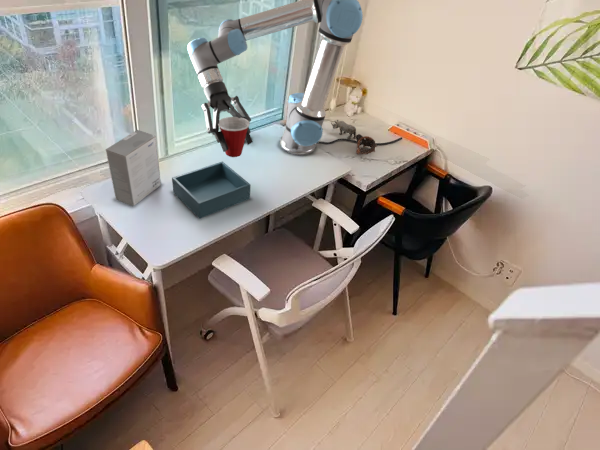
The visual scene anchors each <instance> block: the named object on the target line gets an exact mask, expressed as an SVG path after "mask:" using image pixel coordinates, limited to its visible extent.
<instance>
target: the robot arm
mask: <svg viewBox="0 0 600 450" xmlns="http://www.w3.org/2000/svg"><path fill="white" fill-rule="evenodd" d="M363 17H364V16H363V9H362V6H361V4H360V2H359V0H298V1H294V2H291V3H290V2H289V3H287V4H283V5H280V6H278V7H274V8H271V9H267V10H264V11H260V12H257V13H254V14H251V15H248V16H244V17H241V18H237V19H230V18H227V19H224V20H223V21H222V22H221V23H220V25H219V27H218V31H217V33H218V34H217V37H216V38H214V39H212V40H209V41H208V40H207V39H206V38H205V37H198V38H194V39H193V40H191V41H190V42H188V44H187V47H186V49H187V53H188V56H189V58H190V61H191V63H192V65H193V68H194V70H195V72H196V75H197V78H198V80H199V82H200V85H201V88H202V89H203V93H204V95H205V98H206V99H207V102H204V103H203V104H202V105H201V109H202V111H203V115H204V121H205V128H206V132H207V134H211V135H213V136H214V138H215V140H216V142H217V143H218V144H220V146H221V147H220V148H221V149H222V152H223V153H225V151H227V150H228V146H227V144H226V141H225V139H224V136H223V134H222V131H221V130H220V127H219V126H218V124H219V120H220V117H221V113H222V112H227V113H228V114H230V115H231V117H238V118H245V119H247V120H248V121H249V122H250V123H251V121H252V118H251V117H250V115H249V114H248V112H247V111H246V109H245V107H244V106H243V105H242V103H241V101H240V98H239V96H238V95H235V96H234V97H231V96H230V95H229V91H228V89H227V87H226V84H225V82H224V78H223V76H222V74H221V71H220V69H219V66H218V65H219V64H222V63H223V62H225V61H227V60H230V59H232V58H234V57H237V56H239V55H241V54H243V53H244V52H246V51H247V50H248V44H247V41H251V40H253V39H257V38H260V37H264V36H266V35H271V34H274V33H277V32H282V31H284V30H288V29H291V28H294V27H295V28H296V27H298V26H301V25H305V24H307V23H311V22H314V23H316V24H319V23H320V24H319V28H318V31H317V32H318V34H319V36H320V40H319V43H318V47H317V49H316V53H315V55H314V59H313V63H312V67H311V70H310V74H309V77H308V80H307V83H306V86H305V89H304V92H294V93H291V94H290V95H289V96H288V100H287V111H286V119H285V120H286V121H285V129H284V131H283V133H282V136H281V137H280V140H279V147H280V148H281V150H282V151H284V152H286V153H288V154H289V155H295V156H307V155H310V154H312V153H314V151H315V149H316V144H317V145H332V144H335V143H337V142H349V143H355V144H357V143H358V142H357V140H356V139H352V138H351V139H348V138H343V137H341V138H336V139H334V140H332V141H331V140H330V141H321V139H322V138H323V132H324V131H323V125H324V121H325V118H326V115H327V112H326V110H325V106H326V102H327V100H328V97H329V94H330V91H331V89H332V85H333V82H334V79H335V76H336V73H337V70H338V67H339V64H340V61H341V59H342V55H343V53H344V49H345V47H346V46H347V45H349V44H350V43H352V41H353V40H352V39H353V36H354V35H355V34H356V33H357V32H358V31H359V29H360V28H361V25H362V23H363ZM211 109H212V110H213V113H211ZM212 115H213V119H212ZM401 140H403V137H402V136H400V137H398V138H397V139H394V140H391V141H386V142H375V143H376V145H377V146H386V145H391V144H395V143H398V142H399V141H401ZM253 142H254V140H253V139H252V136H251V128H250V126H249V127H248V129H247V133H246V137H245V143H246V144H247V145H248V146H249V145H251V144H253ZM362 145H363V143H362Z"/></svg>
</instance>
